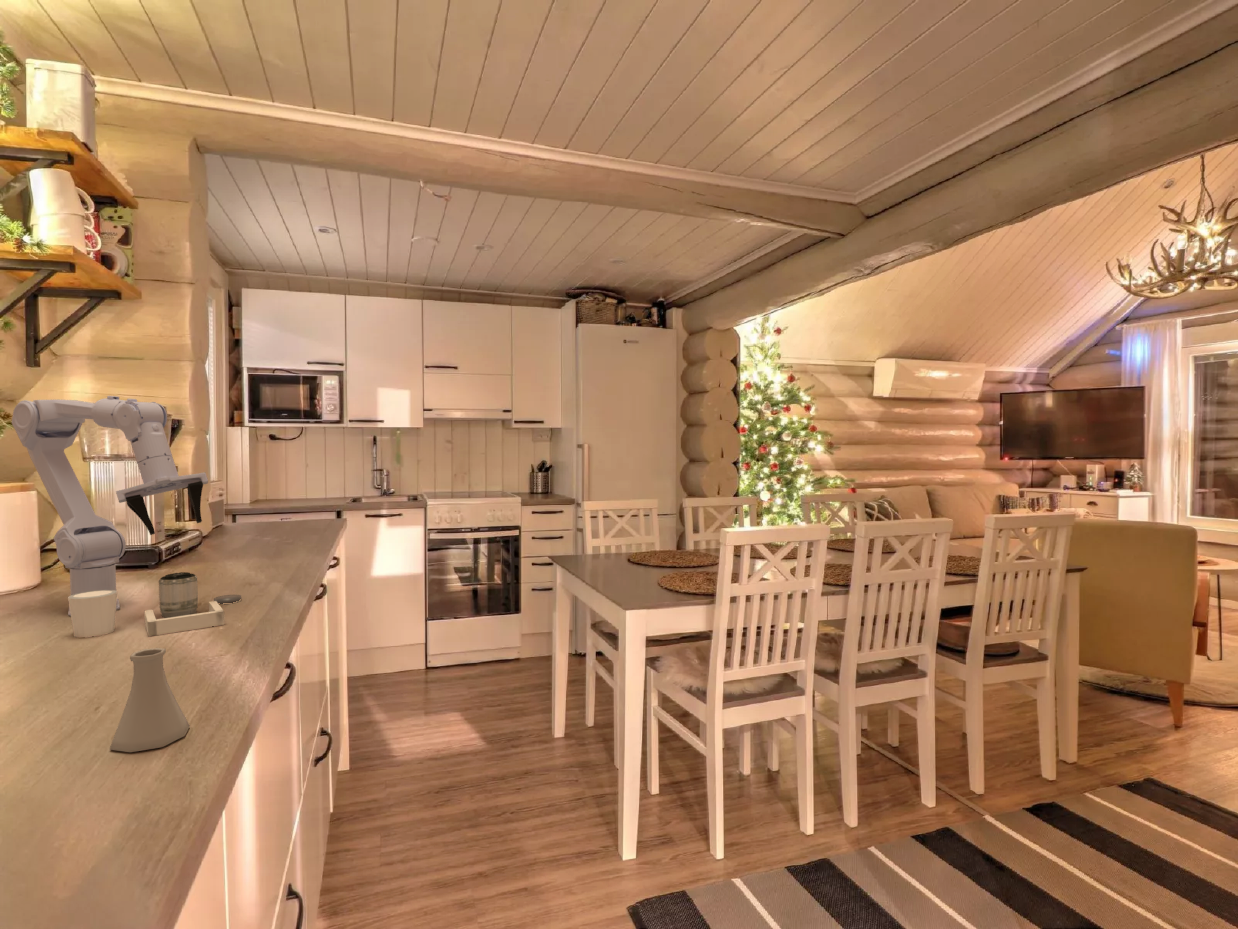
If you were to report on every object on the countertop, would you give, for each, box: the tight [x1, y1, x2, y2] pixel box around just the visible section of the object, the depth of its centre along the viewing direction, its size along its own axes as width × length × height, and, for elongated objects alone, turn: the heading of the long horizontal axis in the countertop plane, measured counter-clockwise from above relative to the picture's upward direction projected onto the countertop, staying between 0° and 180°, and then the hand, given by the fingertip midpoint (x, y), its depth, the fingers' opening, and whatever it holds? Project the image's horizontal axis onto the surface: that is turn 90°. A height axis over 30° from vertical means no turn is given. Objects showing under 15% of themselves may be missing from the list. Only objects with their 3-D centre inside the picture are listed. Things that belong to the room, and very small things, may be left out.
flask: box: [109, 647, 191, 753], centre depth 75 cm, size 7×7×10 cm
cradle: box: [144, 600, 225, 637], centre depth 122 cm, size 10×11×2 cm
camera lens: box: [158, 571, 199, 618], centre depth 130 cm, size 6×6×8 cm
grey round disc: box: [213, 594, 242, 604], centre depth 140 cm, size 5×5×1 cm
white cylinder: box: [67, 589, 118, 638], centre depth 117 cm, size 7×7×7 cm
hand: (176, 527), depth 127 cm, fingers open, 7 cm apart
